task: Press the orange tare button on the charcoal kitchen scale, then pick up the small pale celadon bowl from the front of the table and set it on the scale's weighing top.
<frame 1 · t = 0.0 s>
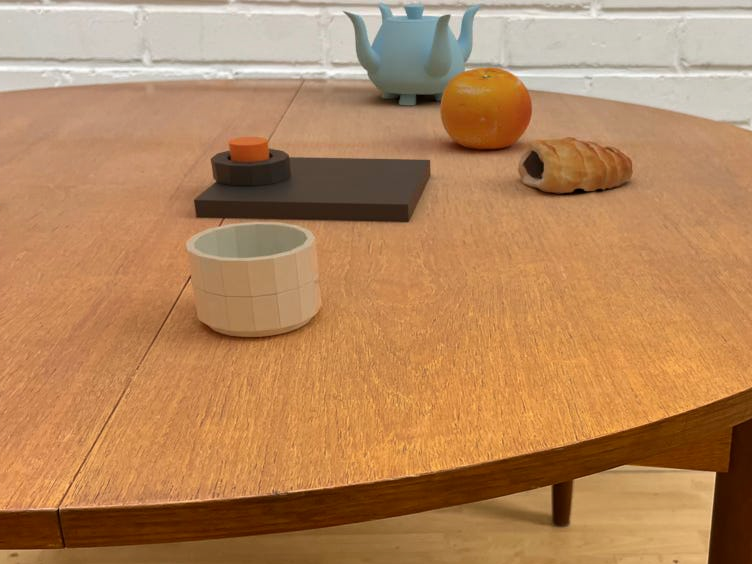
tare button: (249, 151, 76), point 3 cm above the table, slide at 0.1 cm
scale: (321, 195, 78), on the table
bowl: (260, 317, 55), on the table
pastry: (570, 187, 81), on the table
teapot: (416, 100, 115), on the table
fruit: (486, 148, 93), on the table
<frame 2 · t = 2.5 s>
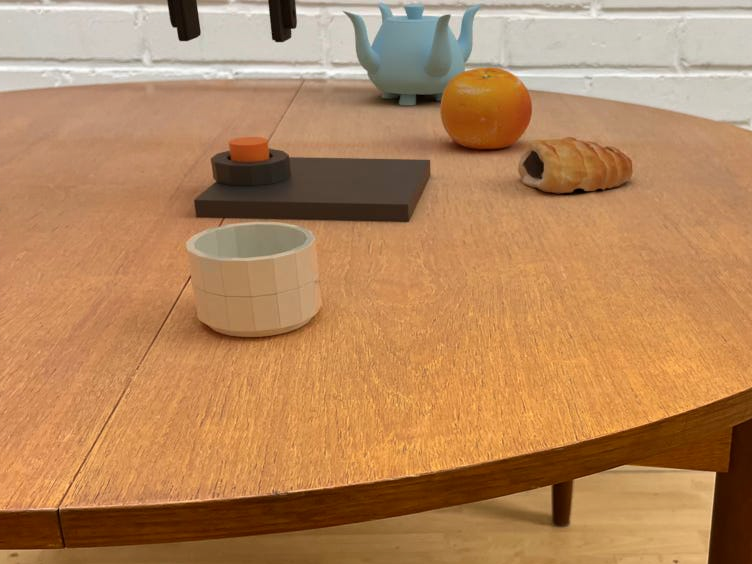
hand: (235, 37, 72), 12 cm above the table, tool pointing down, fingers open, 6 cm apart
nothing on the table moved.
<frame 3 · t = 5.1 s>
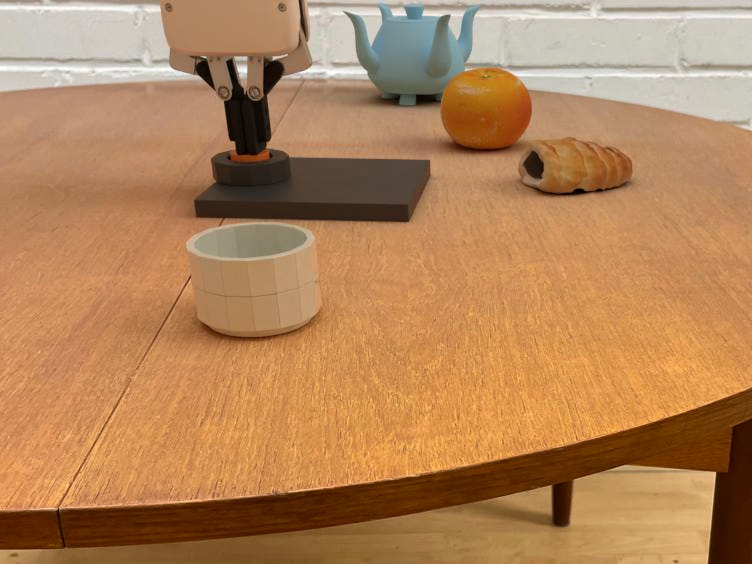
hand: (252, 150, 76), 3 cm above the table, tool pointing down, fingers closed
tare button: (250, 161, 77), point 3 cm above the table, slide at -0.7 cm, touching gripper
everything else where it was.
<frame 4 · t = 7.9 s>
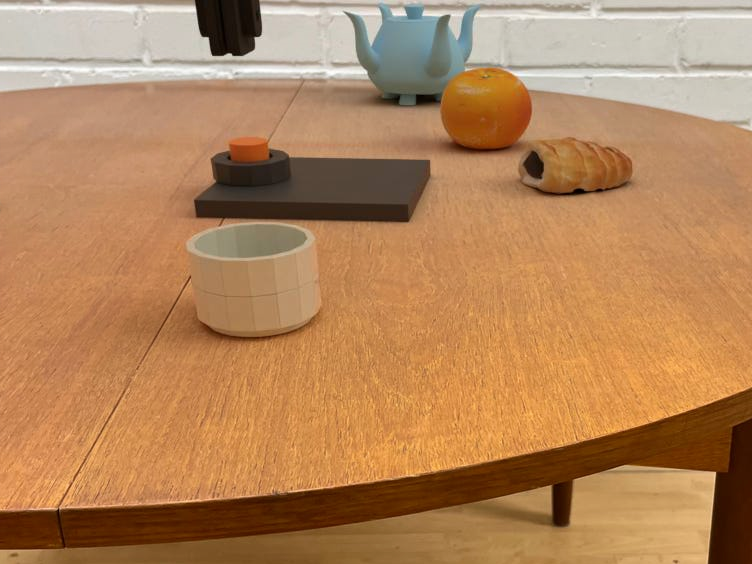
hand: (234, 52, 52), 13 cm above the table, tool pointing down, fingers closed
tare button: (249, 151, 76), point 3 cm above the table, slide at 0.1 cm
everything else where it was.
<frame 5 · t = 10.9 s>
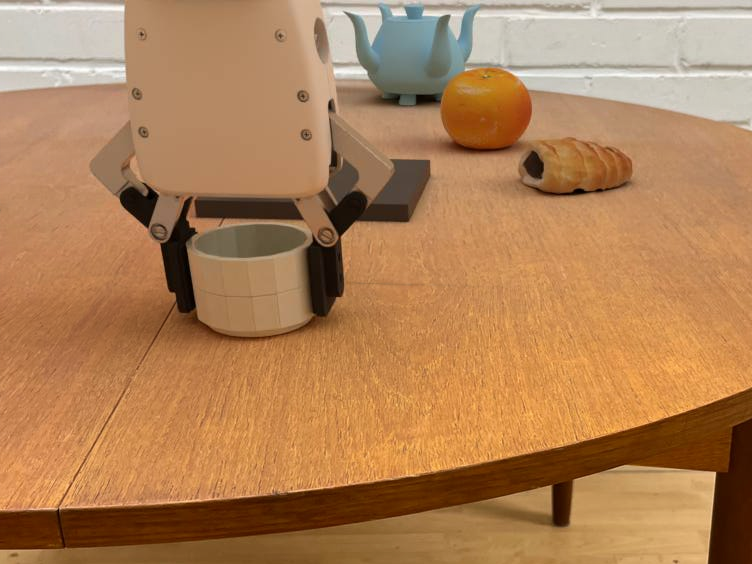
hand: (258, 304, 55), 1 cm above the table, tool pointing down, fingers closed on bowl, 7 cm apart
bowl: (260, 317, 55), on the table, touching gripper
everything else where it was.
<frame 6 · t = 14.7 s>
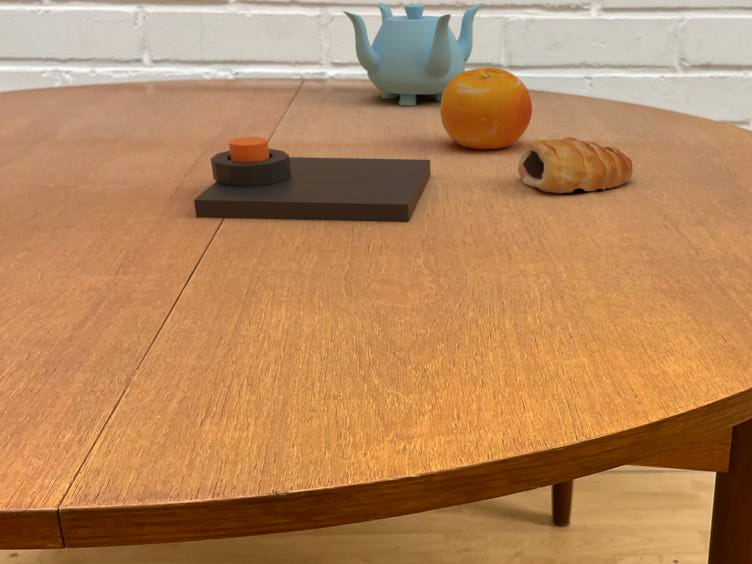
when the fingers open (2 cm above the table, at t = 18.6 s): bowl stays where it is, resting on scale.
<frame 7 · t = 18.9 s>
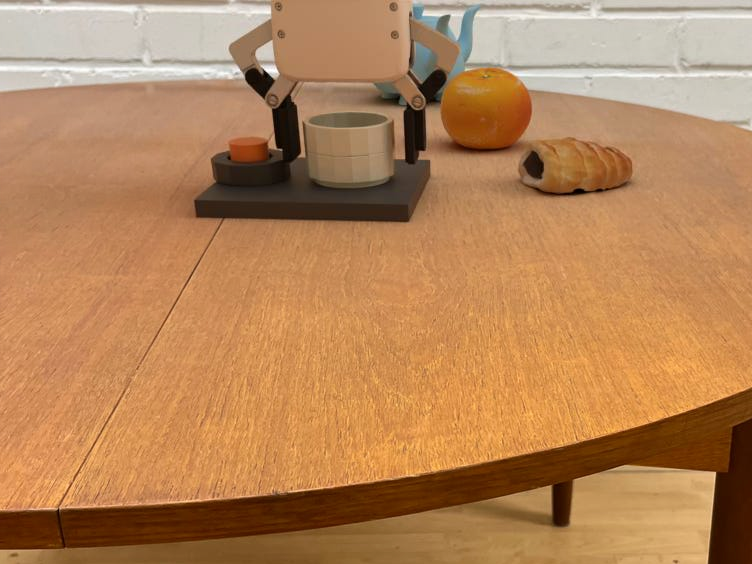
hand: (352, 159, 76), 3 cm above the table, tool pointing down, fingers open, 9 cm apart
bowl: (352, 178, 77), point 1 cm above the table, touching scale
everything else where it was.
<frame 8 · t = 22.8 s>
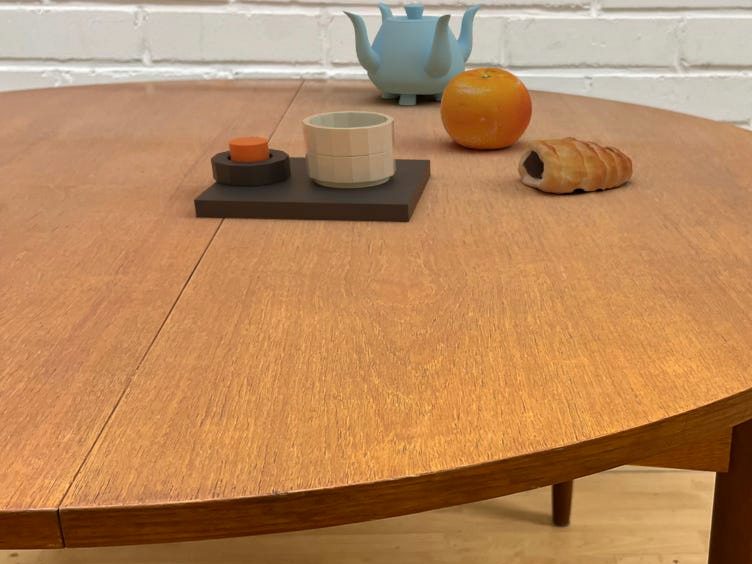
nothing on the table moved.
at the end: tare button pushed in 0.9 cm at the most during the clip, back to where it started at the end; bowl inside the target area on the scale (0.1 cm from its centre), point 1.4 cm above the scale's base; bowl tilted 0° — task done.
